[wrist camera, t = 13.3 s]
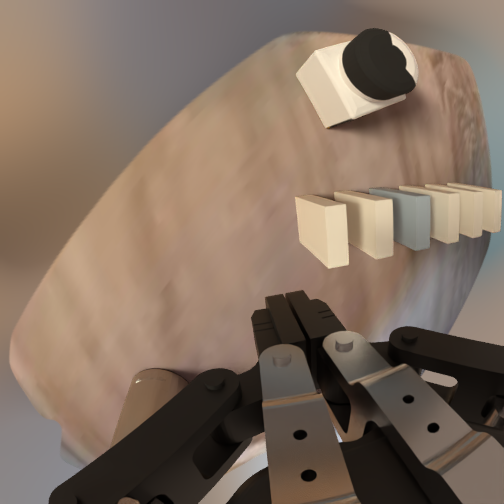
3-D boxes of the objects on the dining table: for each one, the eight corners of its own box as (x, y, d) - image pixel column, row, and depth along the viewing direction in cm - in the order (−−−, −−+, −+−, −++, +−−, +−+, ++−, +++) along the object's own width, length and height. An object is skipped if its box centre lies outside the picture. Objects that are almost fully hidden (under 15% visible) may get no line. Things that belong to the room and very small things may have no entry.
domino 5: (435, 220, 32) (481, 235, 24) (425, 221, 32) (472, 238, 23) (434, 183, 31) (483, 191, 22) (425, 184, 31) (474, 192, 22)
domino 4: (411, 224, 32) (458, 241, 23) (400, 225, 32) (447, 243, 23) (410, 185, 30) (459, 193, 22) (399, 186, 30) (448, 193, 22)
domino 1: (315, 239, 31) (348, 264, 22) (299, 241, 31) (328, 268, 22) (311, 194, 30) (345, 204, 21) (294, 196, 29) (324, 206, 21)
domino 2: (351, 233, 31) (393, 255, 23) (337, 235, 31) (376, 259, 23) (348, 190, 30) (392, 199, 21) (334, 191, 30) (374, 200, 21)
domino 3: (383, 228, 32) (429, 247, 23) (371, 230, 31) (415, 250, 23) (381, 187, 30) (430, 195, 22) (369, 188, 30) (416, 196, 21)
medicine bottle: (324, 130, 28) (382, 110, 16) (293, 74, 26) (334, 26, 14) (373, 109, 27) (440, 89, 16) (345, 57, 25) (399, 16, 14)
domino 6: (455, 217, 32) (500, 231, 24) (447, 218, 32) (493, 233, 24) (455, 182, 31) (501, 190, 22) (447, 183, 31) (494, 190, 22)
